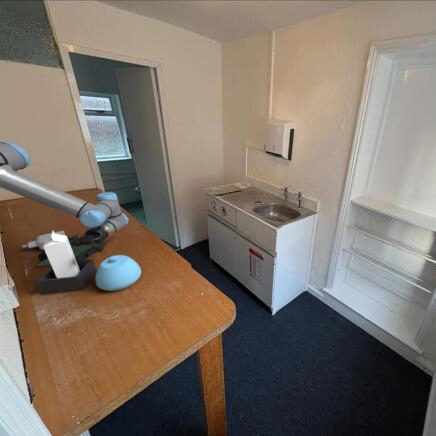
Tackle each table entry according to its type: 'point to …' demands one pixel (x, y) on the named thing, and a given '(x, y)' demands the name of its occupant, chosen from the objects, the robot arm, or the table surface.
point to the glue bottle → (41, 240)
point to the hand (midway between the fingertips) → (58, 259)
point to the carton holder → (68, 279)
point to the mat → (75, 250)
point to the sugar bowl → (117, 273)
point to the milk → (61, 256)
